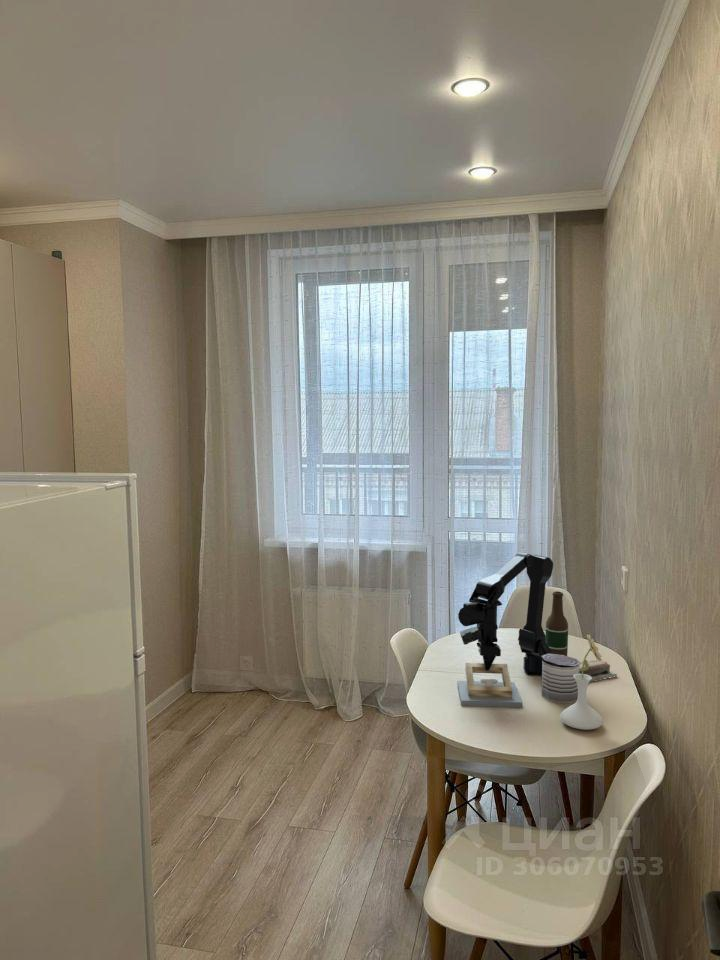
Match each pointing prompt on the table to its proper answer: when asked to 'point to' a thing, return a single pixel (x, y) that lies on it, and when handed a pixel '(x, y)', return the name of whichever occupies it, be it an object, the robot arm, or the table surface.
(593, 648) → the flower in vase
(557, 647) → the beer bottle
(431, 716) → the table surface
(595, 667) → the packaged product
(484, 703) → the hook board
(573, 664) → the can
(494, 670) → the oak loop
